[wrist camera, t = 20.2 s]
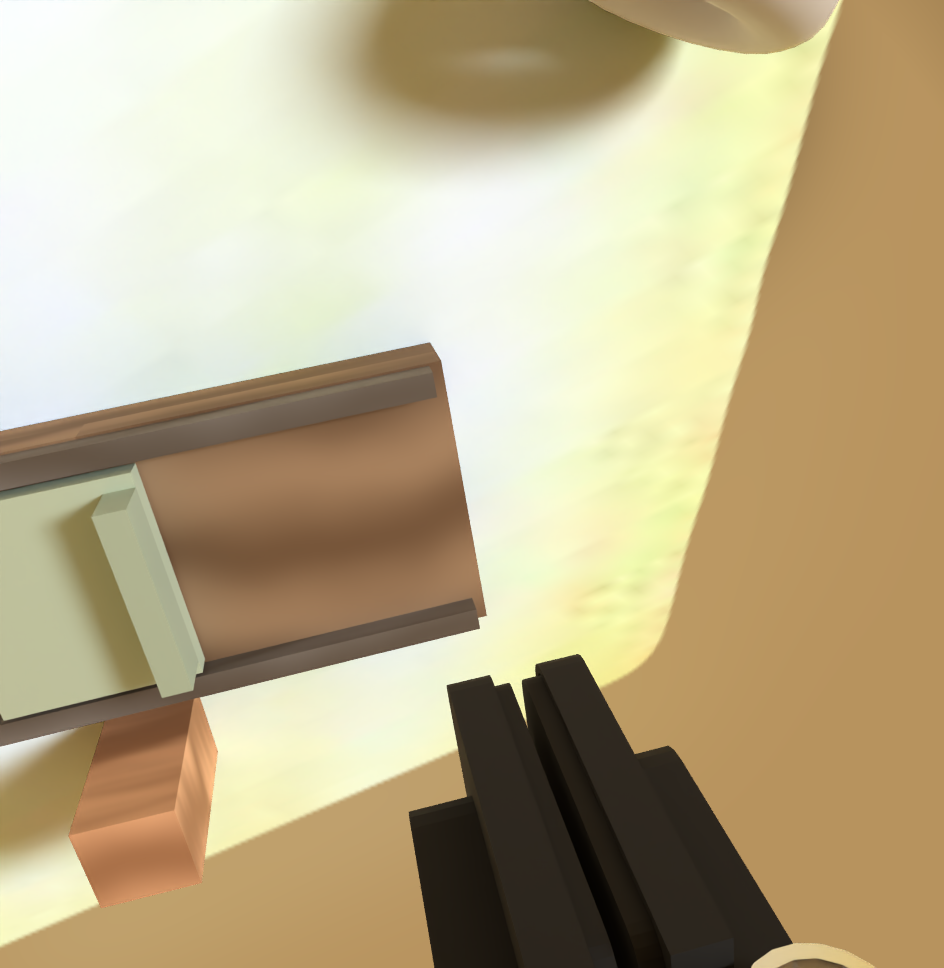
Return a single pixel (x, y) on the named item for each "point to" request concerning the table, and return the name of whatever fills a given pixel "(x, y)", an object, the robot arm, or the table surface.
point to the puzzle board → (284, 517)
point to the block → (147, 803)
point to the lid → (88, 595)
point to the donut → (729, 21)
